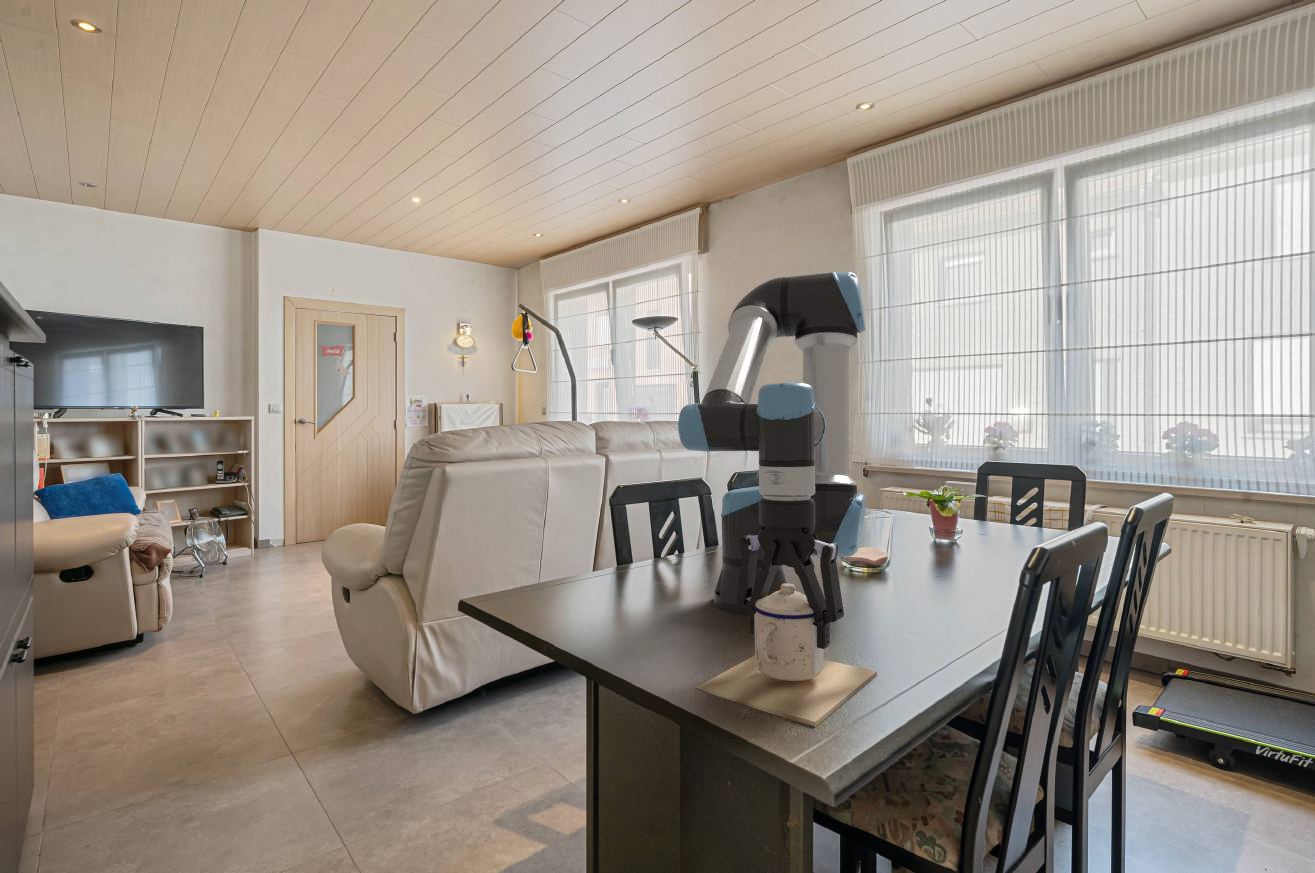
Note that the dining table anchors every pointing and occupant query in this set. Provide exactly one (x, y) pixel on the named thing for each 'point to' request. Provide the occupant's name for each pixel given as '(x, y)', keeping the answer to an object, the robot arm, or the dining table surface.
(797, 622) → the teacup with lid
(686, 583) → the dining table surface
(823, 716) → the cork mat
